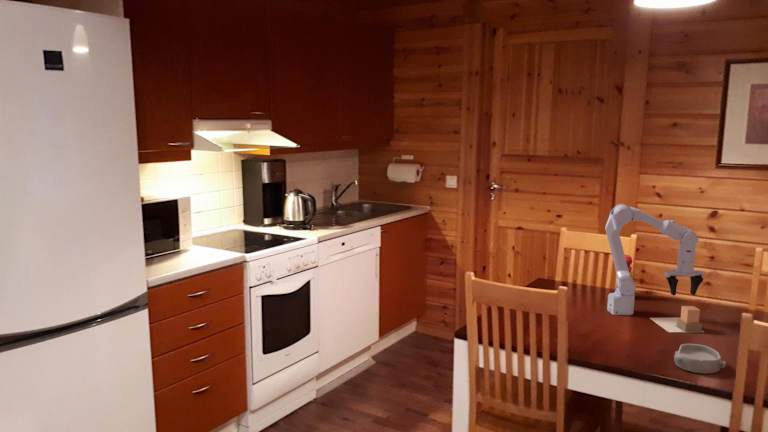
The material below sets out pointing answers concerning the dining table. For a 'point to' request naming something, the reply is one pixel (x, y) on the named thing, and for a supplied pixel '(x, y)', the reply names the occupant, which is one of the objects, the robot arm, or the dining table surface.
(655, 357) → the dining table surface
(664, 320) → the board
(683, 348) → the dish
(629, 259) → the stacking toy
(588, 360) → the dining table surface
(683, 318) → the terracotta block
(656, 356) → the dining table surface
